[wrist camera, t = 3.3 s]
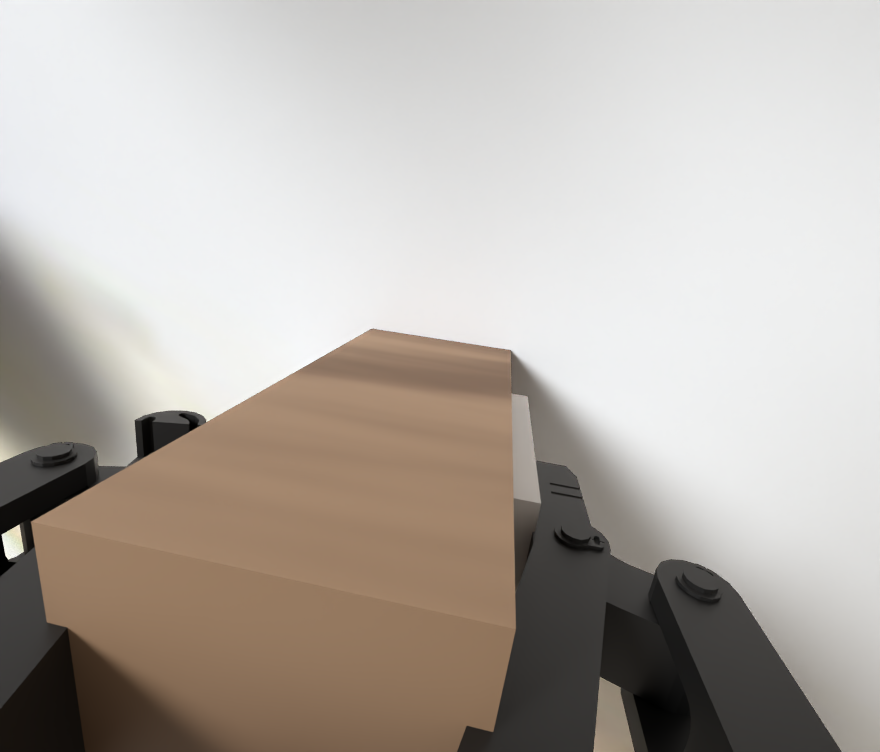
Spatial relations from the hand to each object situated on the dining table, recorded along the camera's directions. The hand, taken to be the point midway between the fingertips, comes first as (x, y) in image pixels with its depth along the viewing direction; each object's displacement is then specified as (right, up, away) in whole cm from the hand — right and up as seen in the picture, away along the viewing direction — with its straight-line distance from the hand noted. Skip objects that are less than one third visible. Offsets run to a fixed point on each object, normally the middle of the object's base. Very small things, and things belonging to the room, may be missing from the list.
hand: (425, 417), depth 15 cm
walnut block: (0, 0, +1) cm, 1 cm away
